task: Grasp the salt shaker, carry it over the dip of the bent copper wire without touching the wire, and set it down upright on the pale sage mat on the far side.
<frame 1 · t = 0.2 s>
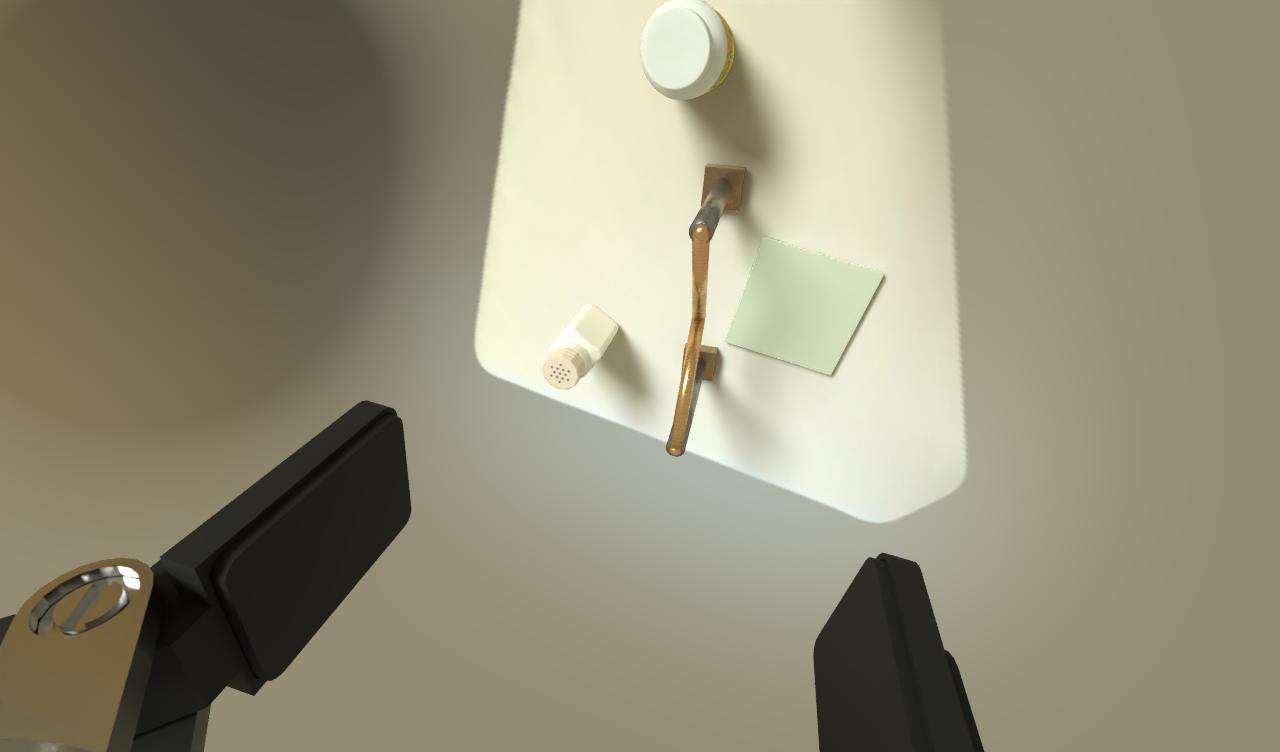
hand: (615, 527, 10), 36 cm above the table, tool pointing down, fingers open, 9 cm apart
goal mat: (798, 307, 44), on the table
supplement bottle: (698, 53, 37), on the table
salt shaker: (595, 324, 50), on the table
wire hurdle: (710, 280, 45), on the table
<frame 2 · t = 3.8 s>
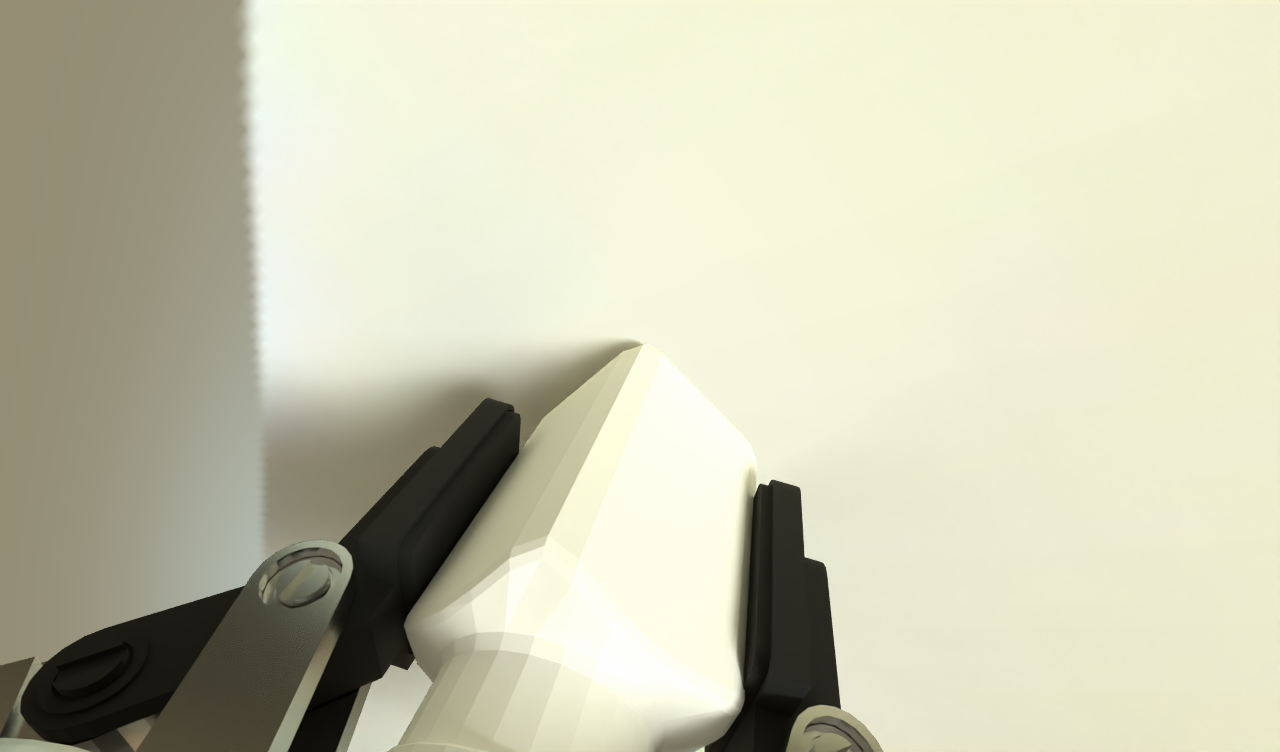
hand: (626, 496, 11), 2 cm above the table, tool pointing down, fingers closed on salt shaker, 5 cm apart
salt shaker: (650, 425, 12), on the table, touching gripper
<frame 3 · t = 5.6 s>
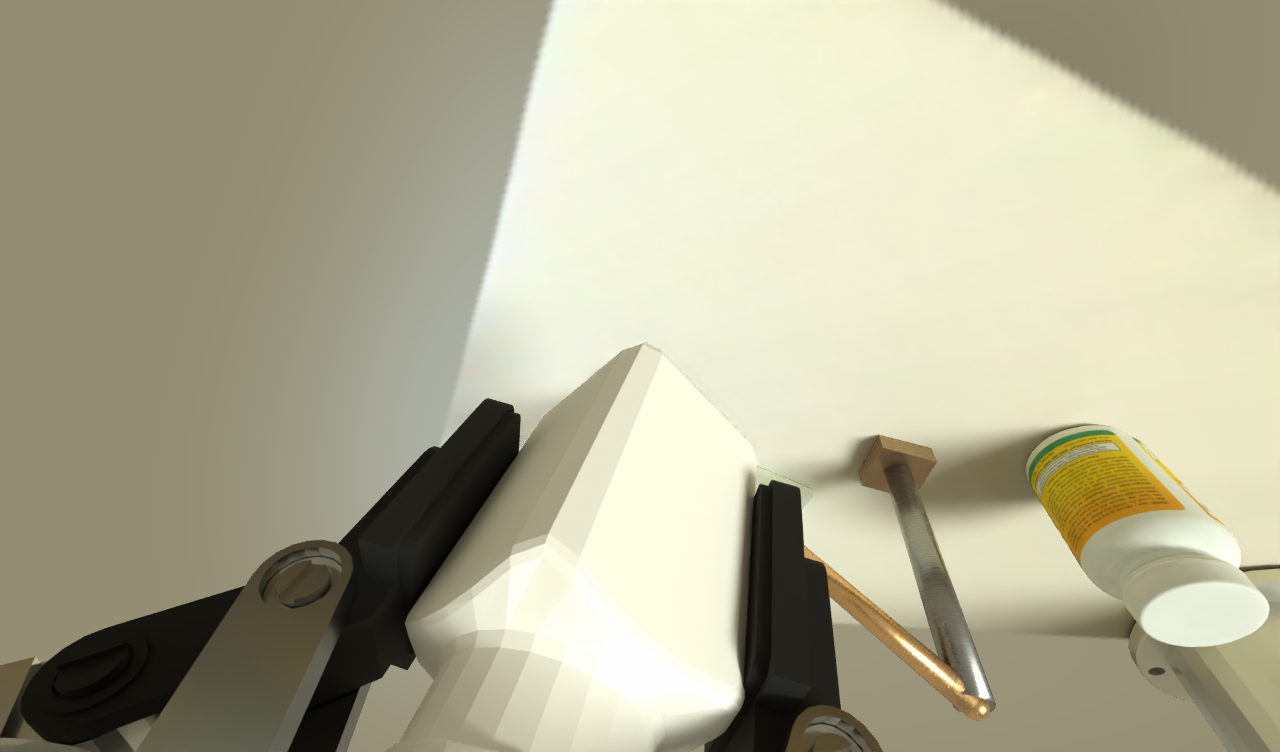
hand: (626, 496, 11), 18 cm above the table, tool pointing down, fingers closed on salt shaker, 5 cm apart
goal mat: (709, 508, 36), on the table
supplement bottle: (1076, 458, 28), on the table
salt shaker: (650, 424, 12), point 16 cm above the table, touching gripper
wire hurdle: (762, 426, 31), on the table
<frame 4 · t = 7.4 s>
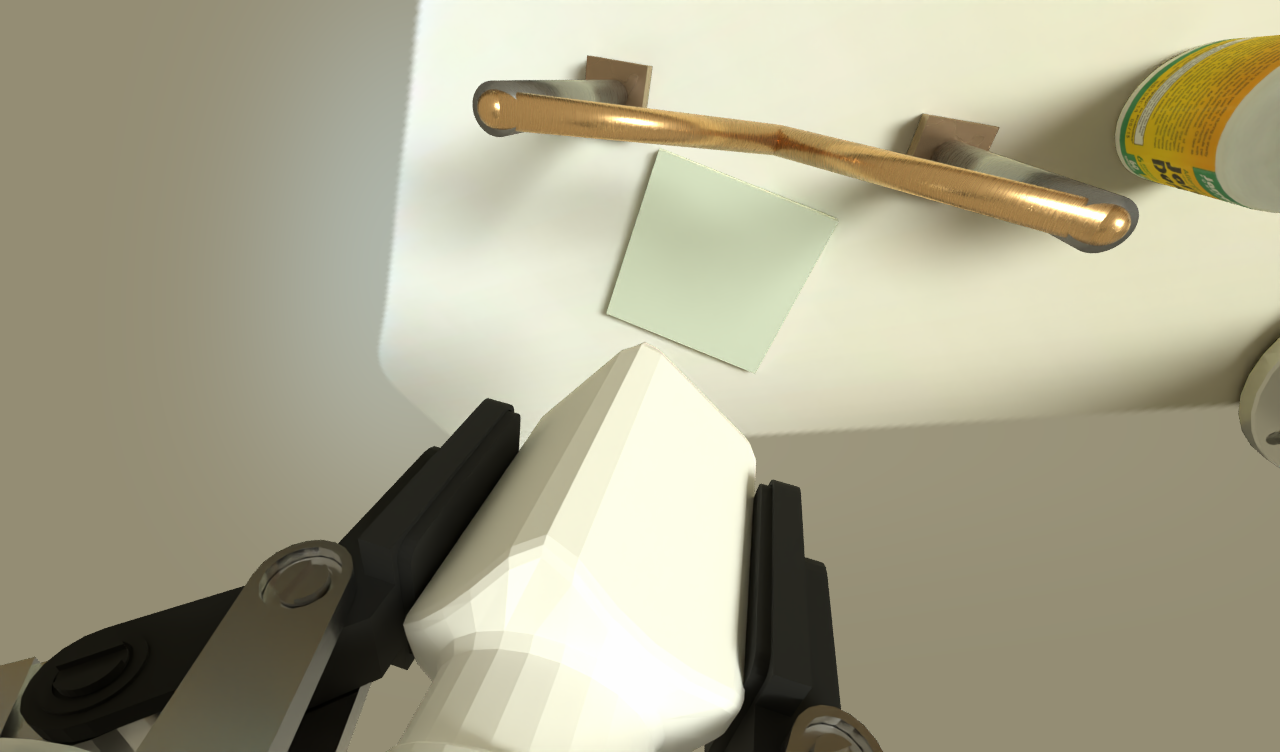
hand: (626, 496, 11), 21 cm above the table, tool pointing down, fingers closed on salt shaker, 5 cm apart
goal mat: (712, 268, 30), on the table
supplement bottle: (1182, 114, 22), on the table
salt shaker: (649, 424, 12), point 19 cm above the table, touching gripper
wire hurdle: (774, 123, 25), on the table
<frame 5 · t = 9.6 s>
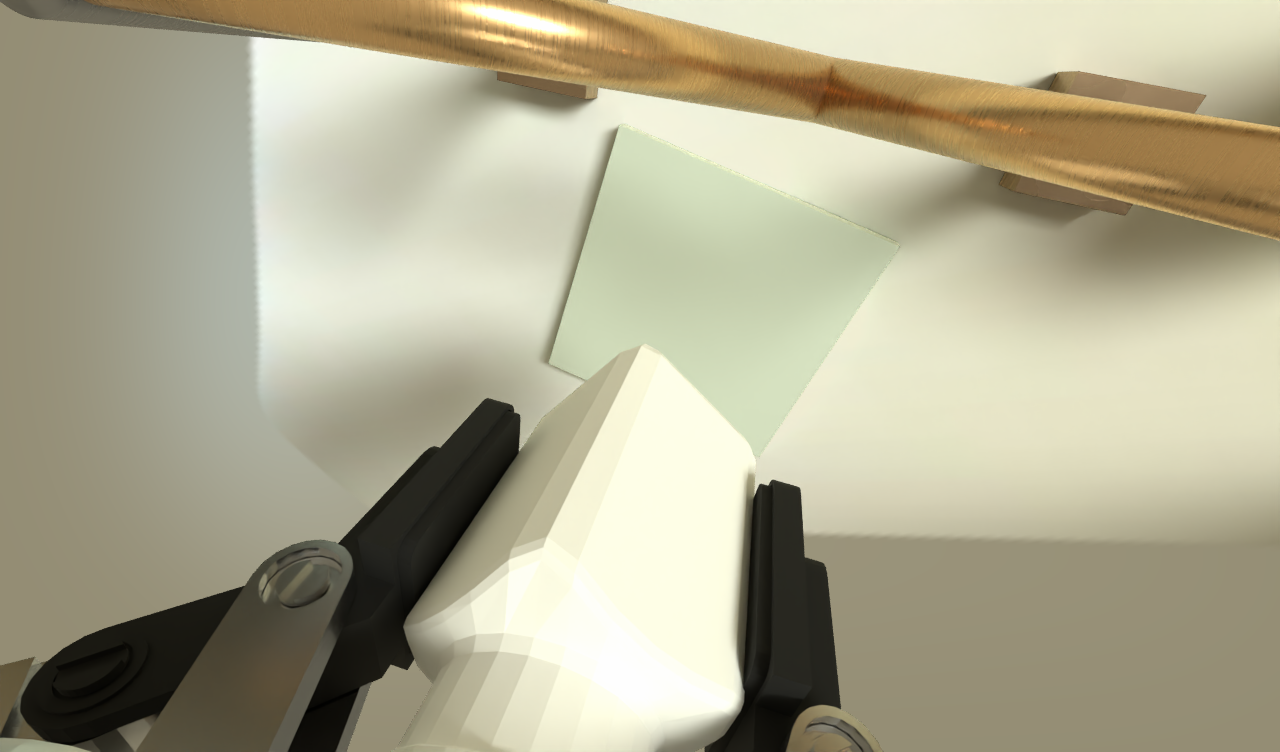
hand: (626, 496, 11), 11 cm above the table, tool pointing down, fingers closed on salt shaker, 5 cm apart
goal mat: (700, 307, 20), on the table
salt shaker: (649, 425, 12), point 9 cm above the table, touching gripper
wire hurdle: (804, 86, 16), on the table
when the fingers open (4 cm above the table, at t = 11.3 s): salt shaker drops 1 cm, resting on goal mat.
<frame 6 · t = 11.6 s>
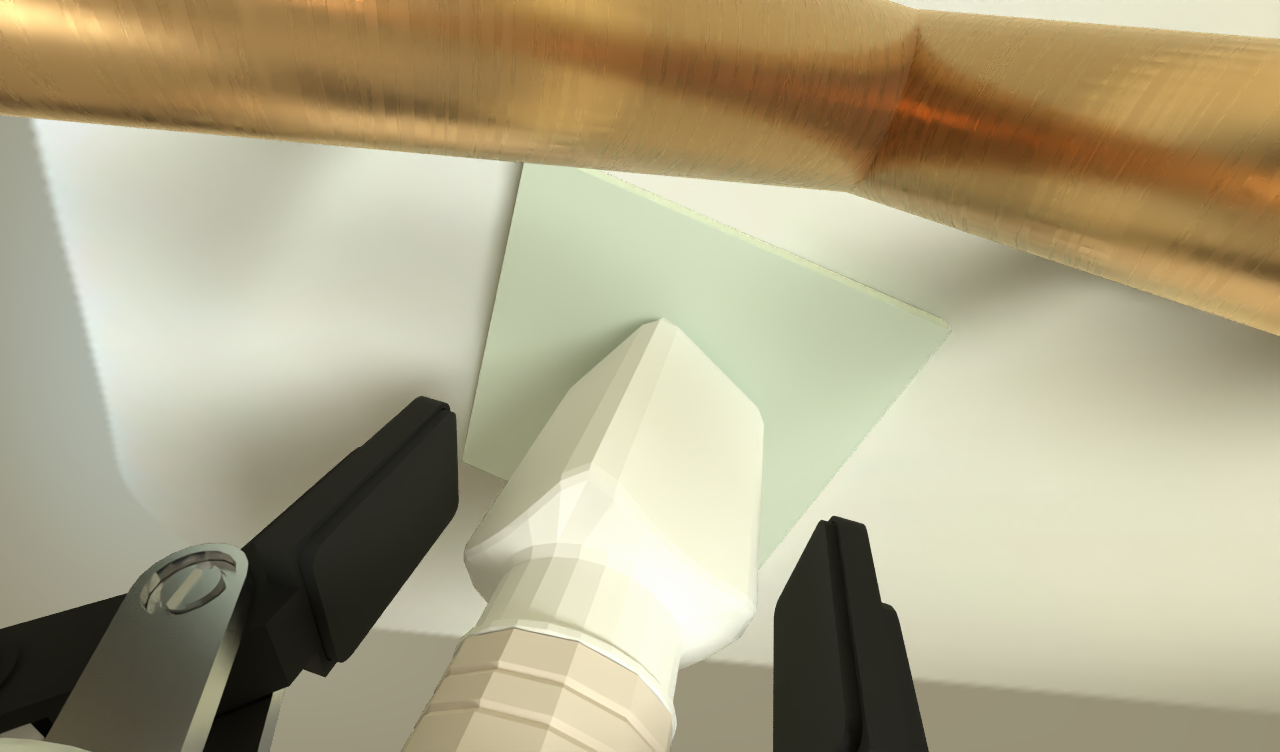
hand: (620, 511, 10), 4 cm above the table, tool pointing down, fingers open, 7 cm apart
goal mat: (661, 397, 14), on the table
salt shaker: (666, 395, 14), resting on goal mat
wire hurdle: (807, 88, 10), on the table
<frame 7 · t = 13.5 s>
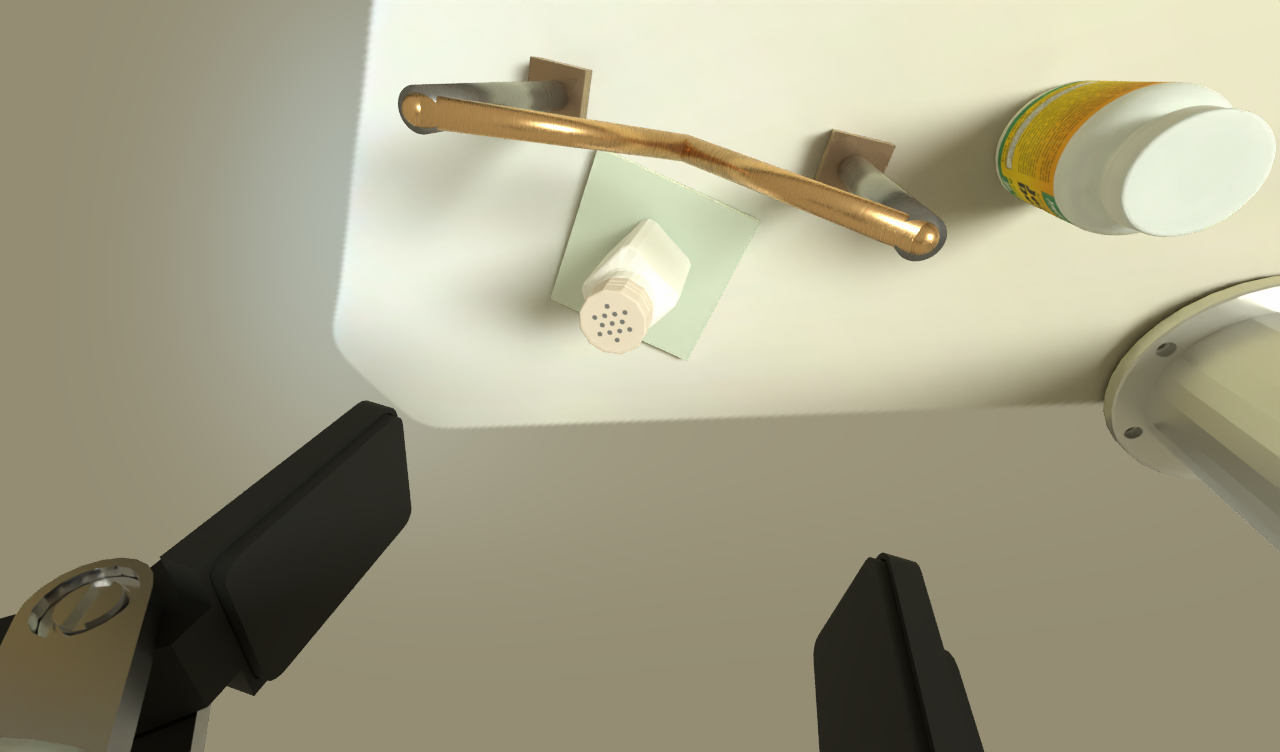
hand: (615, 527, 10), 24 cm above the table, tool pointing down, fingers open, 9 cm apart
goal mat: (648, 261, 32), on the table
supplement bottle: (1052, 143, 25), on the table
salt shaker: (650, 258, 31), resting on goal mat
wire hurdle: (703, 130, 27), on the table
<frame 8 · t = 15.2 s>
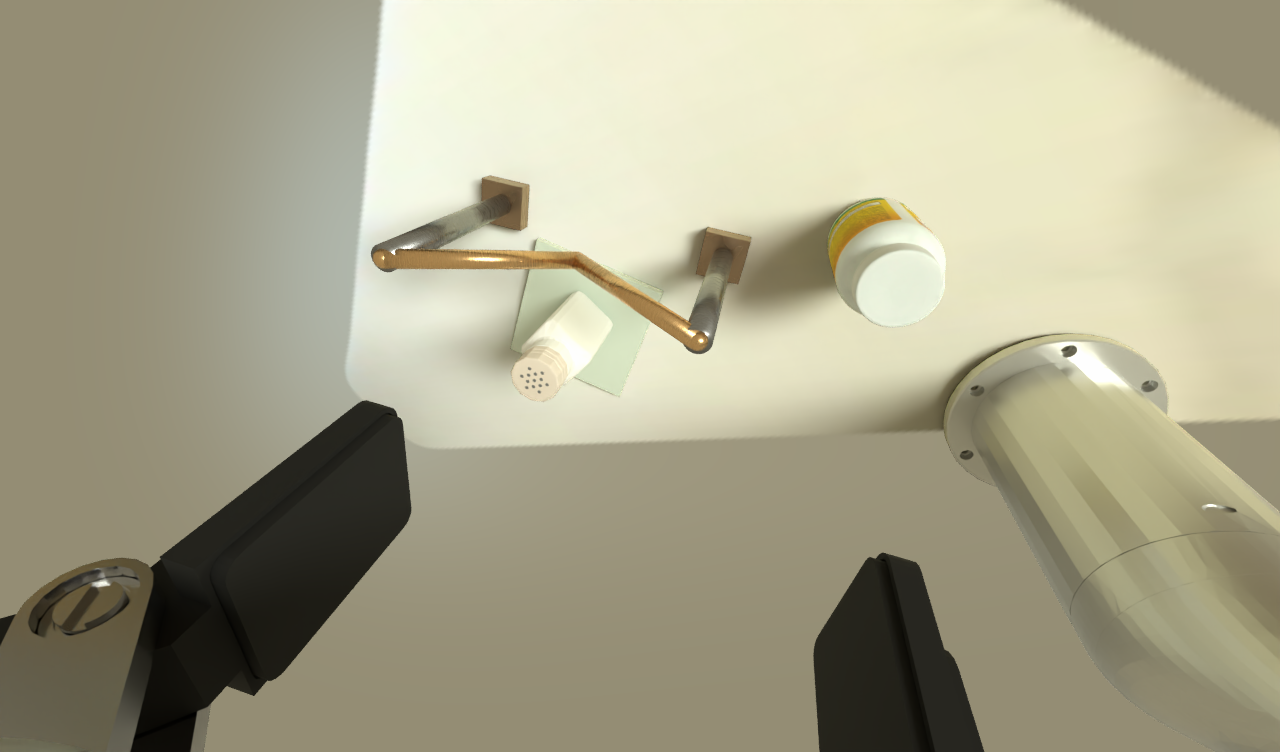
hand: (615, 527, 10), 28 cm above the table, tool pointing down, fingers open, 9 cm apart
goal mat: (583, 320, 40), on the table
supplement bottle: (869, 237, 33), on the table
salt shaker: (583, 318, 40), resting on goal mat
wire hurdle: (613, 226, 36), on the table
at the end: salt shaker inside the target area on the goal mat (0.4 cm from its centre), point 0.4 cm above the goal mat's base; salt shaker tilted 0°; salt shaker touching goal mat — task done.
